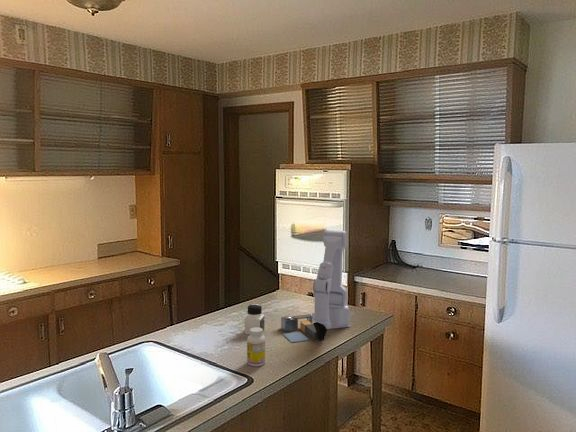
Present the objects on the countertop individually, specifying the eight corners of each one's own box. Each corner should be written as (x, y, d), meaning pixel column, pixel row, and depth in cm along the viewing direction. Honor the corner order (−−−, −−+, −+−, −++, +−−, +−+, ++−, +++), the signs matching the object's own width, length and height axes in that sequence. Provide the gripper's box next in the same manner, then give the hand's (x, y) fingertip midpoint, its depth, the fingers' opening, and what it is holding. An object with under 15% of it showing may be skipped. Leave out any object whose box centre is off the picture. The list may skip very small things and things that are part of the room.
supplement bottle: (247, 359, 181) (247, 326, 179) (264, 359, 181) (265, 326, 180) (247, 367, 174) (247, 332, 173) (265, 366, 175) (265, 332, 173)
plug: (307, 328, 215) (307, 320, 215) (322, 339, 201) (322, 331, 201) (300, 329, 214) (300, 321, 214) (314, 341, 200) (314, 332, 200)
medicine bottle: (260, 335, 205) (260, 308, 204) (244, 334, 207) (244, 307, 205) (264, 330, 212) (264, 303, 211) (248, 328, 214) (248, 302, 212)
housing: (309, 324, 220) (309, 312, 219) (313, 328, 215) (314, 315, 215) (281, 328, 215) (281, 315, 214) (285, 331, 210) (285, 319, 210)
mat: (300, 332, 210) (300, 331, 210) (309, 340, 200) (309, 339, 200) (282, 334, 207) (283, 333, 207) (291, 343, 198) (291, 342, 198)
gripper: (305, 303, 202) (305, 335, 204) (320, 314, 189) (319, 347, 190) (320, 302, 205) (320, 333, 206) (336, 312, 191) (335, 345, 193)
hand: (321, 340), depth 198 cm, fingers closed
